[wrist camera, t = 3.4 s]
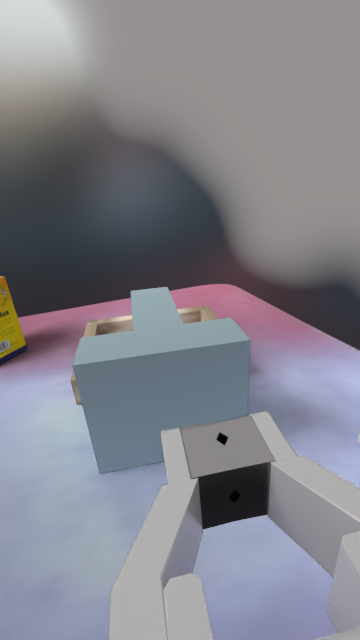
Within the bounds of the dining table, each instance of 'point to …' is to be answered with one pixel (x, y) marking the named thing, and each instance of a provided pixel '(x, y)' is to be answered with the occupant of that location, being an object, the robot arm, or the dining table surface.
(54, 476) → the dining table surface
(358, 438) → the medicine bottle
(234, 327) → the blue block with tab
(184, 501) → the robot arm
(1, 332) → the supplement box
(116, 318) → the frame
